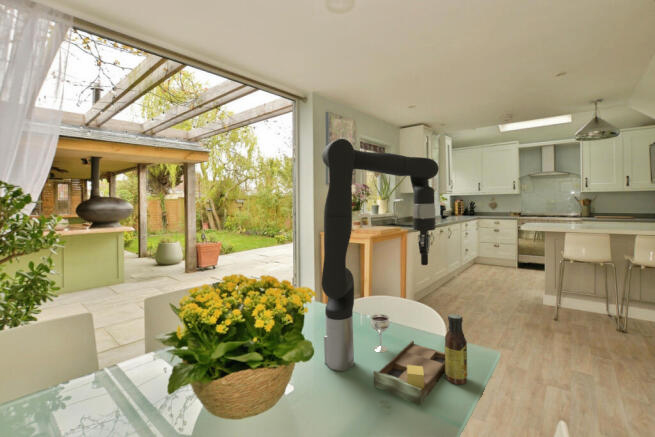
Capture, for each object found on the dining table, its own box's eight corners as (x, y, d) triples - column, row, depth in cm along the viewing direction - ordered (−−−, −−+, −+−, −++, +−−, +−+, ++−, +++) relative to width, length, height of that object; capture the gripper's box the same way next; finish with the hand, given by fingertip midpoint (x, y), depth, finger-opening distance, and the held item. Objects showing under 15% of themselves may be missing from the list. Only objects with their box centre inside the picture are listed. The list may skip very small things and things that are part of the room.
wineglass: (367, 348, 114) (367, 317, 113) (379, 342, 119) (378, 312, 118) (382, 355, 109) (381, 322, 108) (393, 348, 114) (393, 317, 113)
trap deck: (373, 386, 92) (373, 371, 91) (412, 348, 113) (412, 336, 113) (420, 405, 82) (419, 389, 82) (452, 361, 104) (452, 348, 104)
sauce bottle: (469, 386, 90) (469, 321, 89) (447, 384, 91) (446, 320, 90) (464, 374, 96) (464, 312, 95) (443, 372, 98) (443, 311, 96)
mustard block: (407, 388, 87) (407, 373, 86) (407, 379, 91) (407, 364, 91) (423, 390, 86) (423, 375, 85) (423, 381, 90) (422, 366, 90)
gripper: (415, 215, 115) (416, 260, 116) (410, 217, 103) (410, 268, 104) (436, 215, 112) (437, 261, 113) (433, 217, 100) (434, 269, 101)
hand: (424, 264), depth 109 cm, fingers closed
